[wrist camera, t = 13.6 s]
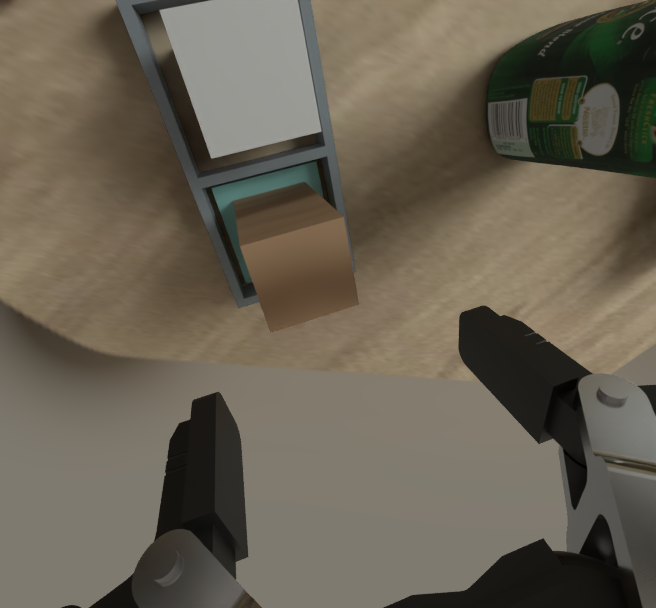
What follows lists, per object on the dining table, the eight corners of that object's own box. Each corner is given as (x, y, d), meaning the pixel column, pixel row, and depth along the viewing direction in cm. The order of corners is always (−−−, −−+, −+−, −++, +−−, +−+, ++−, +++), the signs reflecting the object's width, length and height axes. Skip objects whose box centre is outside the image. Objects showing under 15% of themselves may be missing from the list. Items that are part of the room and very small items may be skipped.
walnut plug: (233, 200, 23) (239, 246, 16) (304, 181, 24) (343, 216, 16) (255, 266, 26) (270, 332, 18) (319, 247, 26) (359, 304, 19)
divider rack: (121, 1, 17) (61, -63, 11) (295, -31, 19) (338, -107, 12) (237, 295, 27) (243, 358, 20) (347, 262, 28) (387, 311, 21)
